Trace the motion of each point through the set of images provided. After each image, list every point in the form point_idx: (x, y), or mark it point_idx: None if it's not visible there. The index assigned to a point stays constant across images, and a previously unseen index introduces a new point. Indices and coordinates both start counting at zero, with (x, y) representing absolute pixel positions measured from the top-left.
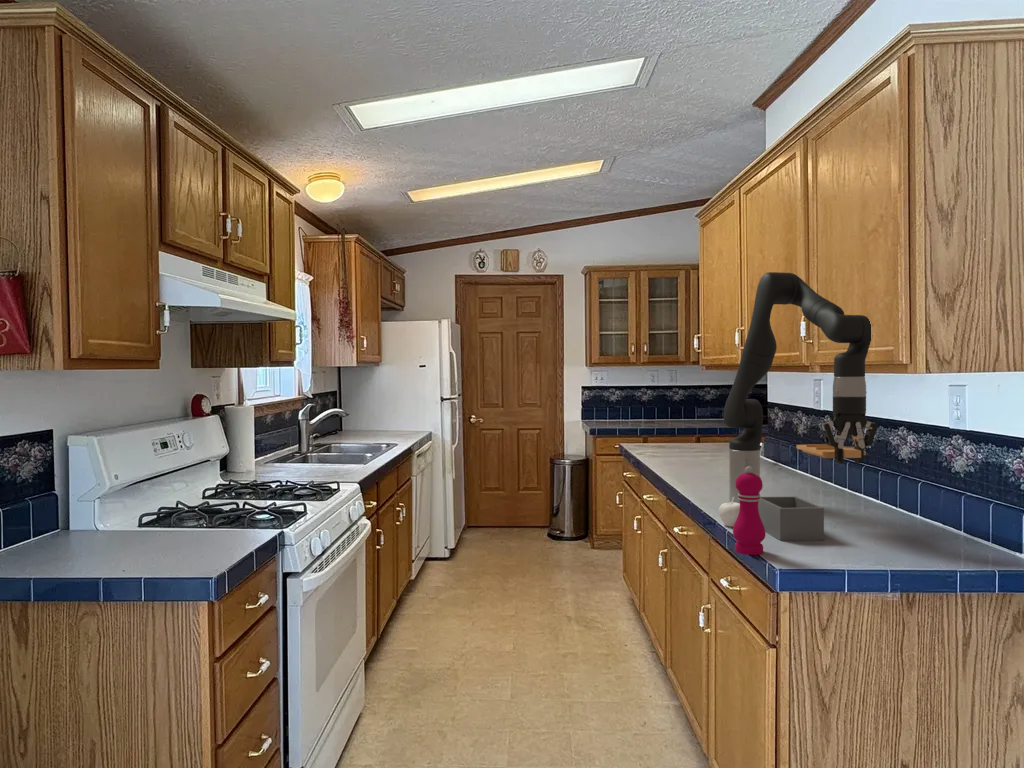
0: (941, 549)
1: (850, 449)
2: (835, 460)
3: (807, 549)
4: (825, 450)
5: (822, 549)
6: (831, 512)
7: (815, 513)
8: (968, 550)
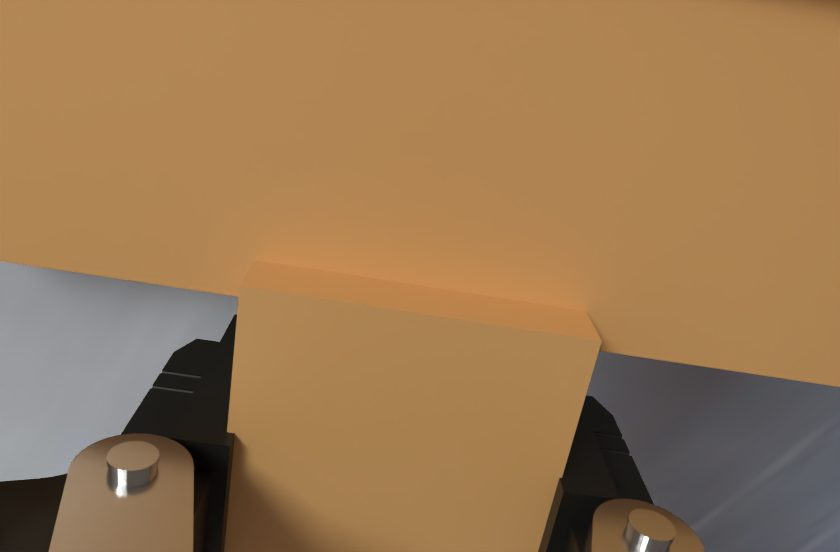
0: (708, 431)
1: (418, 525)
2: (193, 347)
3: (36, 320)
4: (118, 56)
5: (116, 333)
6: None
7: None
8: (813, 465)
